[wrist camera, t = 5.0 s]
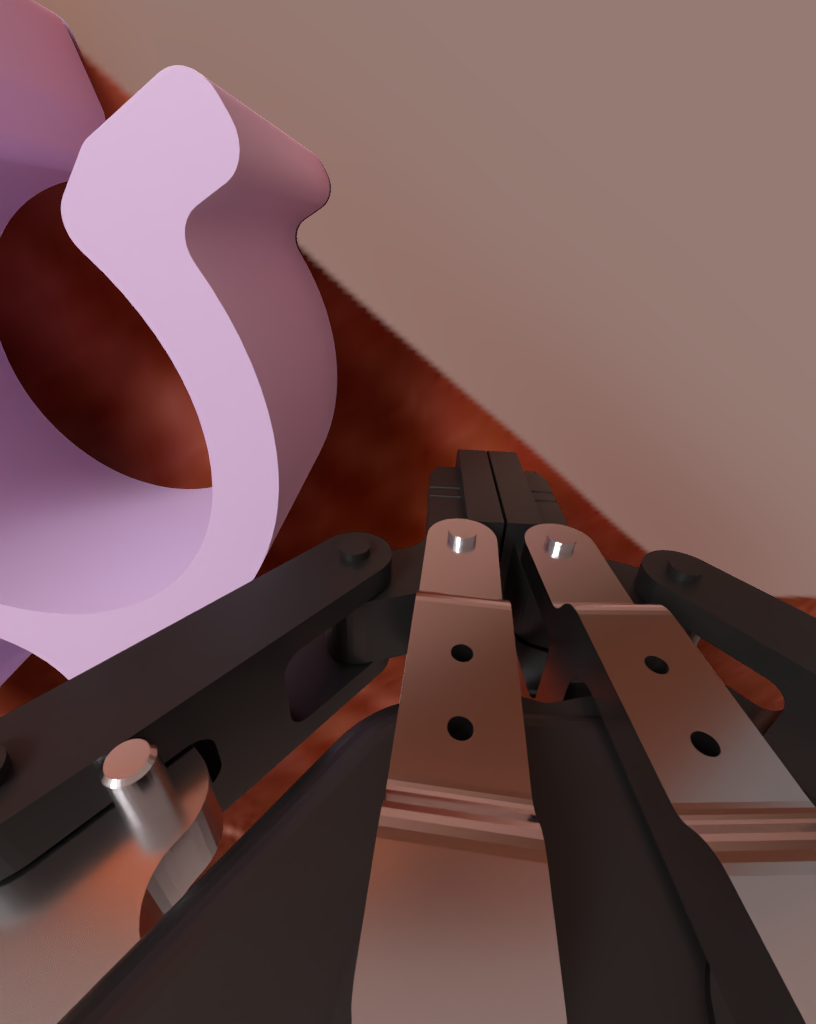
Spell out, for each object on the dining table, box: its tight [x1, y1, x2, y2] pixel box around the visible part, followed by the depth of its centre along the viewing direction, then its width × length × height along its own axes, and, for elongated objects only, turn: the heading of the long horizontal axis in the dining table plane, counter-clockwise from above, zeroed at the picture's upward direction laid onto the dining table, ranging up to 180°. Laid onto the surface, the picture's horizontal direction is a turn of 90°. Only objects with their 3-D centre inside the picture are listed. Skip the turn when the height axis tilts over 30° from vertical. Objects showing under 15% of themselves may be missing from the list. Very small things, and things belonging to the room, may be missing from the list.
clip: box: [0, 0, 337, 686], centre depth 13 cm, size 20×12×7 cm, turn 156°
